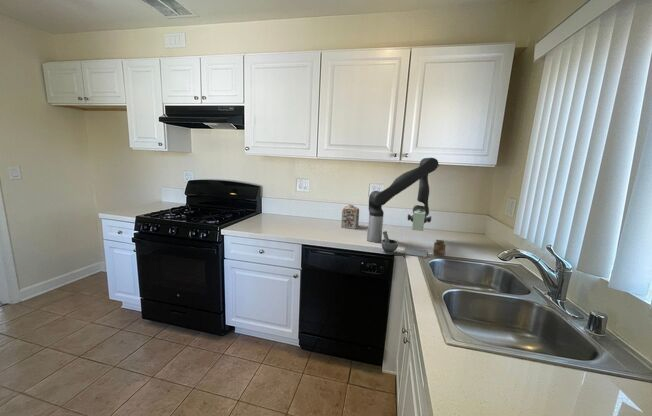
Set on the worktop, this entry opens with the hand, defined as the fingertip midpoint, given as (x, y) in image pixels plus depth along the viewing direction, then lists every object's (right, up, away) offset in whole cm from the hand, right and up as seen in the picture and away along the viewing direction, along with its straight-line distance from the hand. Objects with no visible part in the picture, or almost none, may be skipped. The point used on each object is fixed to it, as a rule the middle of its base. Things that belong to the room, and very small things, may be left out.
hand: (418, 220), depth 156 cm
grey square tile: (0, -19, +6) cm, 20 cm away
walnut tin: (+14, -20, +5) cm, 25 cm away
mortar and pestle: (-16, -19, +5) cm, 26 cm away
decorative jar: (-34, -8, +61) cm, 70 cm away
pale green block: (+1, -5, +3) cm, 6 cm away
